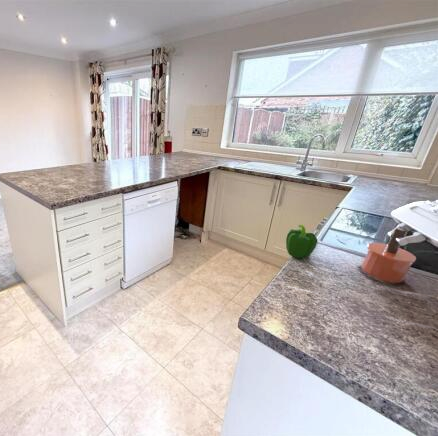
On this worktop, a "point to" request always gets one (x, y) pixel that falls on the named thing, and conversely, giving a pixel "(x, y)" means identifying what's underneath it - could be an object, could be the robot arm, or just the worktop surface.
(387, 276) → the pot
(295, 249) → the bell pepper
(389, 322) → the worktop surface
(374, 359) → the worktop surface
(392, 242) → the lid
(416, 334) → the worktop surface
